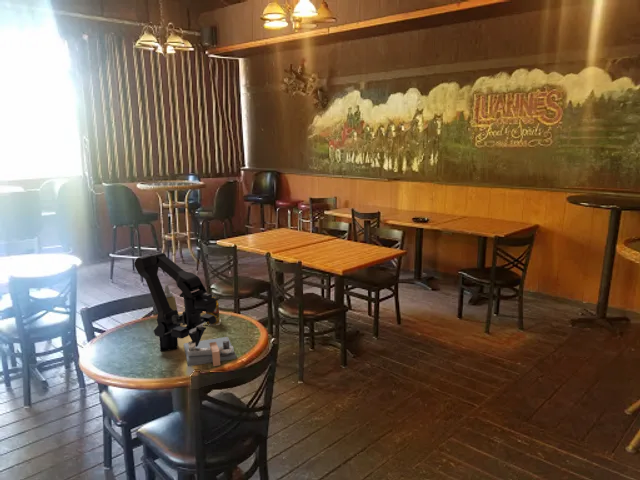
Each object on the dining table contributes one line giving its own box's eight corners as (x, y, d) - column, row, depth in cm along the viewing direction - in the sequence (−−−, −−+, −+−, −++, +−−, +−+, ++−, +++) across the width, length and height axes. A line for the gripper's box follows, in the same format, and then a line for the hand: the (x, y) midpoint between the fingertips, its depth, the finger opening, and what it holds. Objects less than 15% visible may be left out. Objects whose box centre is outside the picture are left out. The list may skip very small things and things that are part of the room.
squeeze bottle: (172, 318, 238) (168, 281, 234) (182, 321, 233) (179, 284, 229) (157, 323, 231) (153, 285, 228) (167, 326, 226) (163, 288, 223)
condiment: (220, 325, 227) (218, 299, 225) (201, 326, 226) (199, 301, 224) (221, 319, 234) (219, 294, 232) (202, 320, 233) (200, 296, 231)
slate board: (187, 366, 186) (187, 362, 186) (183, 346, 205) (183, 342, 204) (236, 358, 192) (235, 355, 191) (227, 339, 210) (227, 336, 210)
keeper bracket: (213, 366, 186) (212, 352, 185) (210, 356, 194) (209, 342, 193) (220, 365, 186) (219, 351, 185) (216, 355, 195) (215, 341, 194)
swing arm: (233, 349, 196) (233, 337, 195) (232, 355, 191) (231, 342, 190) (189, 352, 195) (188, 340, 194) (187, 357, 190) (186, 345, 189)
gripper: (195, 298, 203) (198, 334, 207) (158, 313, 188) (163, 351, 191) (215, 302, 198) (218, 339, 201) (179, 317, 182) (183, 357, 185)
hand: (196, 346), depth 195 cm, fingers closed
